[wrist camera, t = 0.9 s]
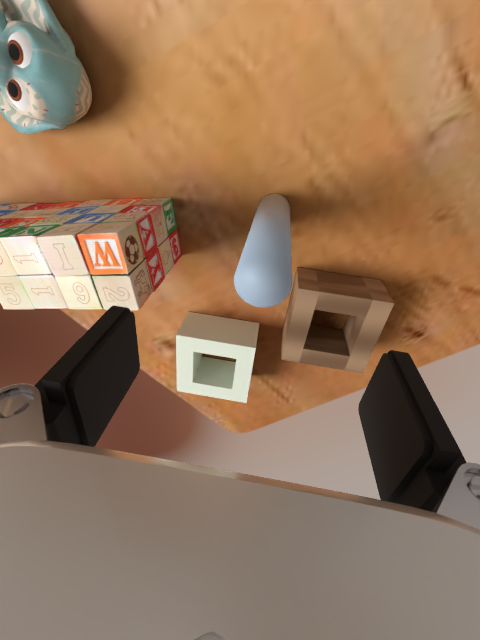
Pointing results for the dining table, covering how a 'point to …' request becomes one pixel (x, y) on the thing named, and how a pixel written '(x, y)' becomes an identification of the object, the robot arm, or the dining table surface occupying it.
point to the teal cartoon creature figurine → (39, 69)
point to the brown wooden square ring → (338, 297)
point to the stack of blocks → (86, 253)
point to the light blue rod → (267, 255)
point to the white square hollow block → (216, 340)
